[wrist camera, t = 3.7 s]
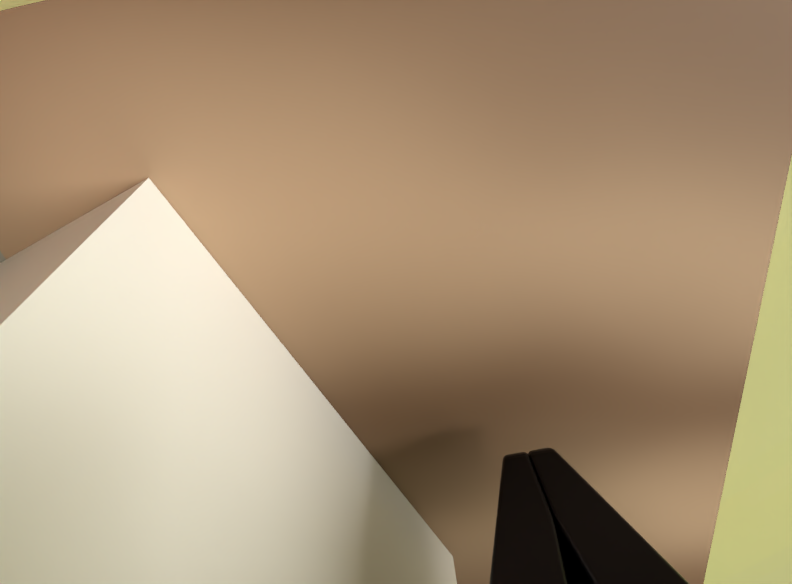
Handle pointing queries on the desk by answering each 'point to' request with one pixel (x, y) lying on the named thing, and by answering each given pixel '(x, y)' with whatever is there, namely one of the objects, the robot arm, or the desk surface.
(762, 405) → the desk surface
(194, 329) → the carton
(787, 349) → the desk surface
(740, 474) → the desk surface
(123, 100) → the display board
